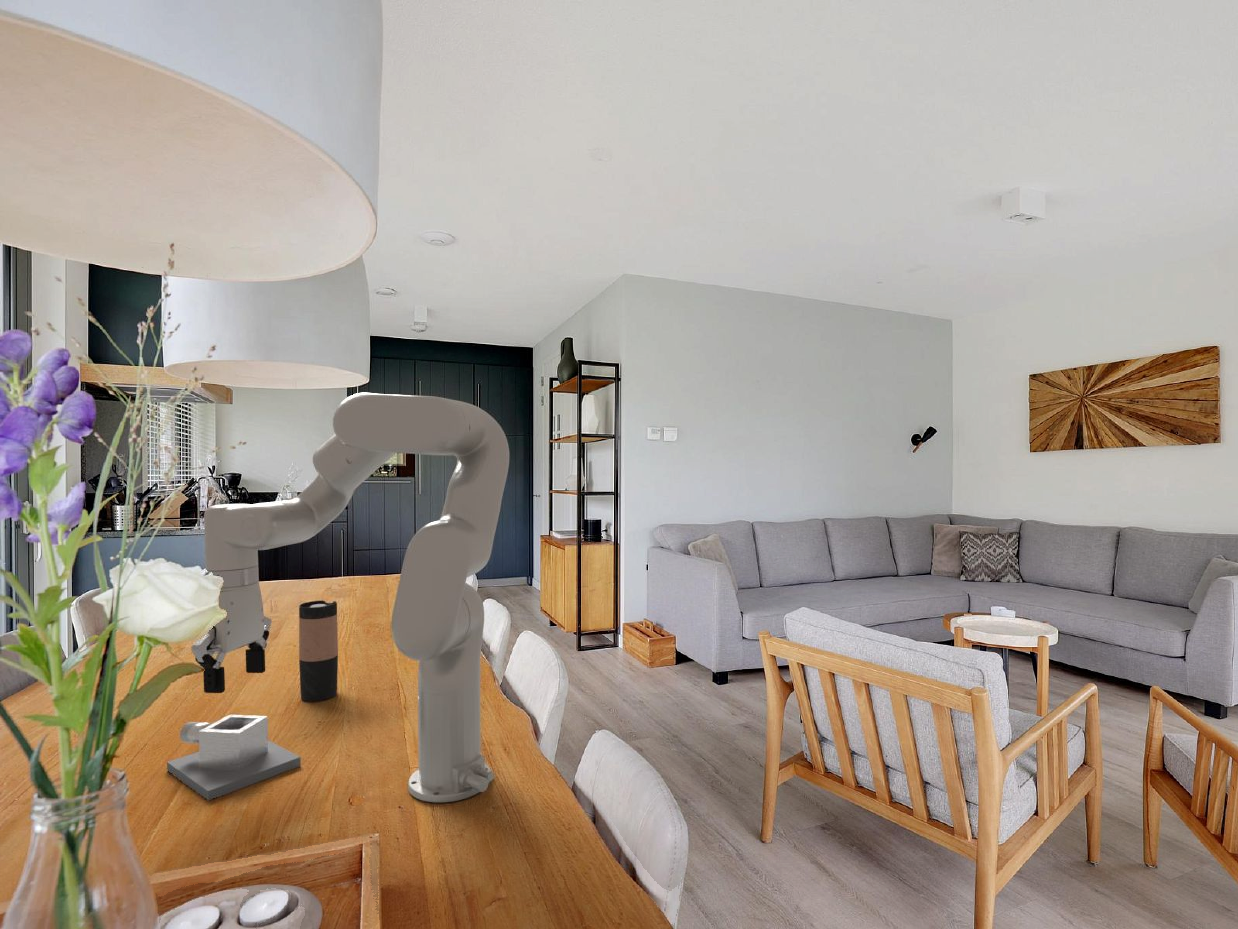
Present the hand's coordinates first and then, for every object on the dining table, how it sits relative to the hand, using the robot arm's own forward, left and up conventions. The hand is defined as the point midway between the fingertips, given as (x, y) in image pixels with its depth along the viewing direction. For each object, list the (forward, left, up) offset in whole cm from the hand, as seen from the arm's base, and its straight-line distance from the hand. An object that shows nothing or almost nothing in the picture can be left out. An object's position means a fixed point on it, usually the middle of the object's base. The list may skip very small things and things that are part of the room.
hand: (236, 682), depth 109 cm
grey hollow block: (+2, +1, -13) cm, 13 cm away
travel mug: (+21, -26, -15) cm, 37 cm away
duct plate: (0, 0, -14) cm, 14 cm away
